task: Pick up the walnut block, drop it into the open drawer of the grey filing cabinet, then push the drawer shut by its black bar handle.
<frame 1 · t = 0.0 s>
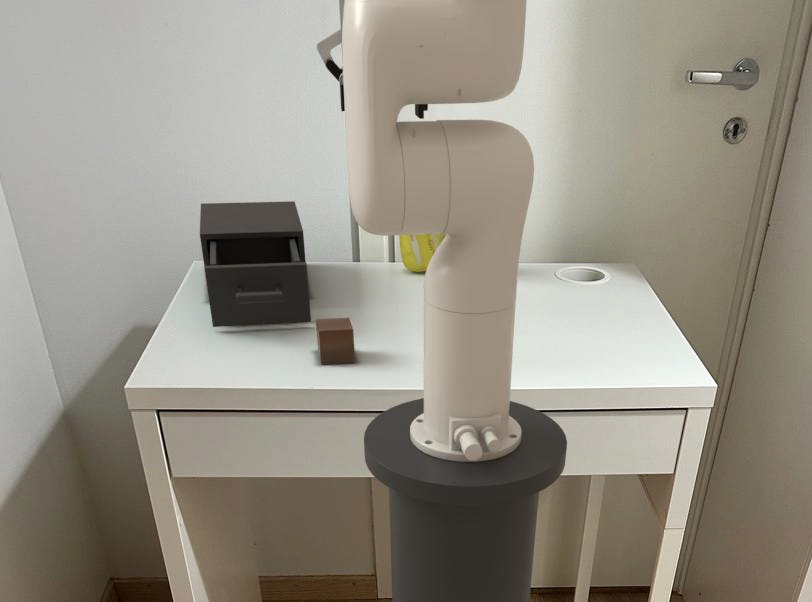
hand: (384, 117, 124), 24 cm above the table, tool pointing down, fingers open, 9 cm apart
bottle: (435, 272, 150), on the table
grey filing cabinet: (257, 281, 143), on the table
block: (336, 357, 120), on the table
drawer: (257, 282, 128), point 5 cm above the table, slide at 12.0 cm
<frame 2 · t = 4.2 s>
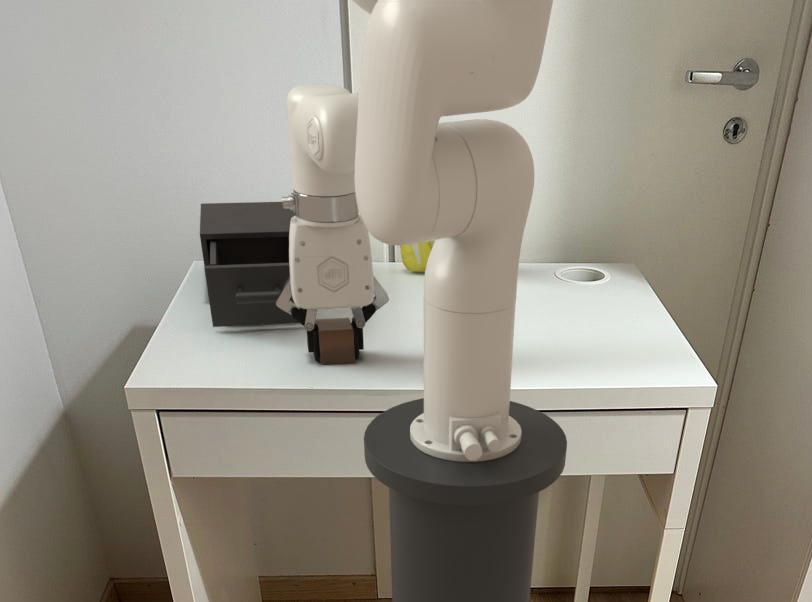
hand: (336, 354, 120), 0 cm above the table, tool pointing down, fingers closed on block, 4 cm apart
block: (336, 357, 120), on the table, touching gripper
everything else where it was.
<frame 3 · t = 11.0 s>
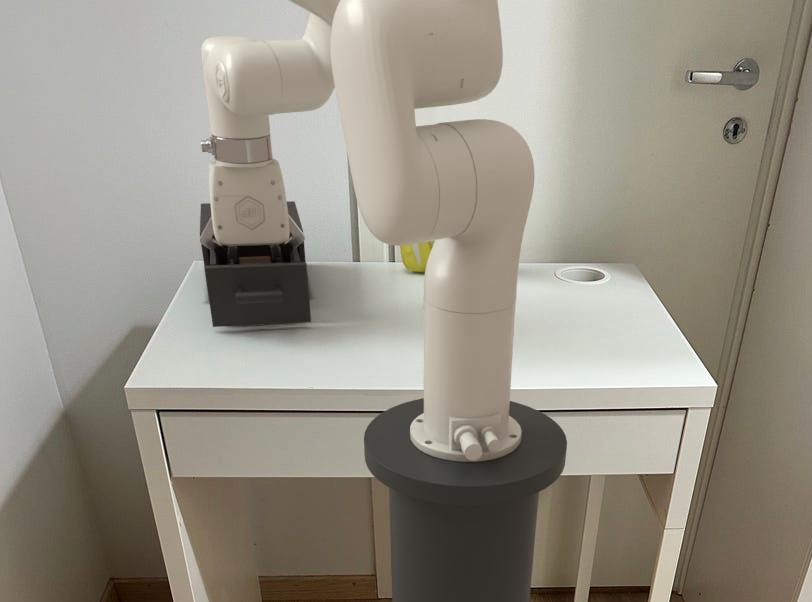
hand: (258, 290, 130), 3 cm above the table, tool pointing down, fingers closed on block, 4 cm apart
block: (258, 293, 130), point 3 cm above the table, touching gripper
drawer: (257, 282, 128), point 5 cm above the table, slide at 12.0 cm, touching gripper
everything else where it was.
when the fingers open (6 cm above the table, at t = 21.4 s): block moves 1 cm, resting on drawer.
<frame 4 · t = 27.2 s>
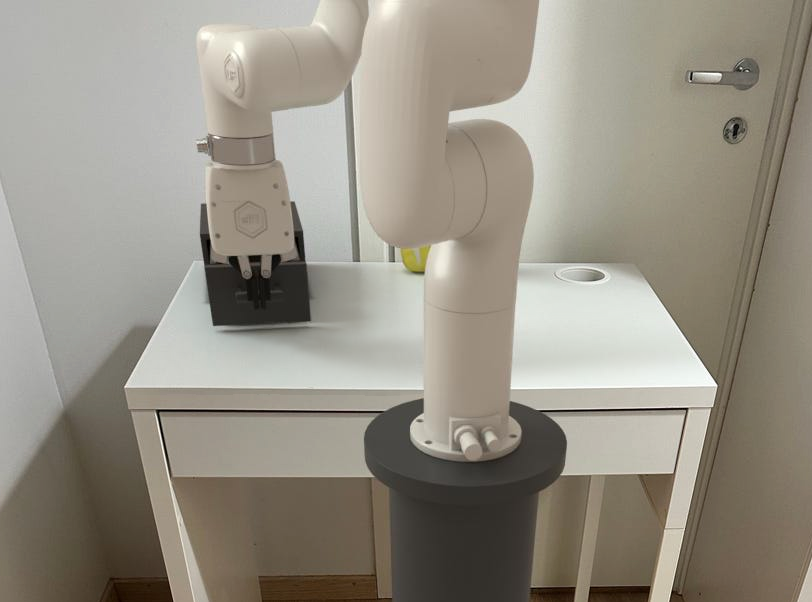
hand: (260, 306, 119), 5 cm above the table, tool pointing down, fingers closed
block: (259, 298, 131), point 2 cm above the table, touching drawer
drawer: (257, 281, 128), point 5 cm above the table, slide at 11.7 cm, touching block, gripper
everything else where it was.
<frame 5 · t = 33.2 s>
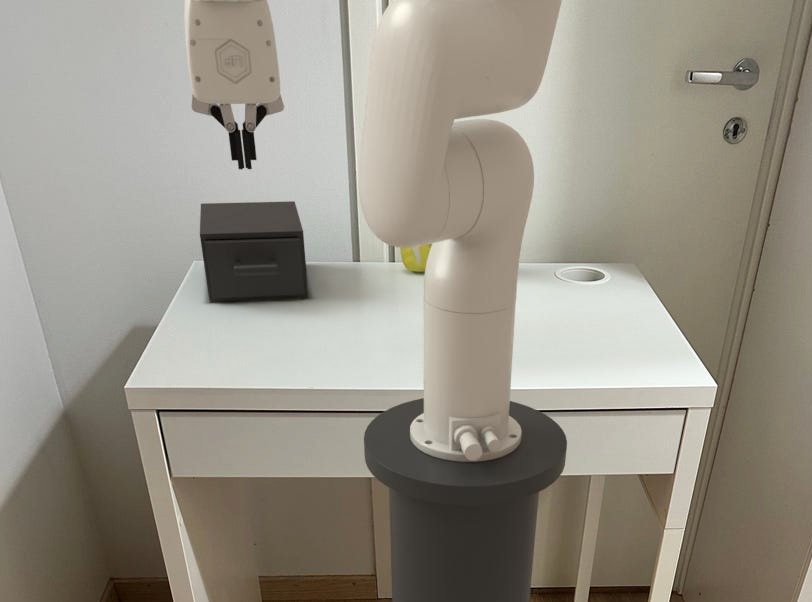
hand: (244, 166, 112), 21 cm above the table, tool pointing down, fingers closed
block: (256, 273, 140), point 2 cm above the table, touching drawer
drawer: (254, 257, 137), point 5 cm above the table, slide at 0.0 cm, touching block, grey filing cabinet
everything else where it was.
at the end: block inside the target area in the grey filing cabinet (2.5 cm from its centre), point 2.0 cm above the grey filing cabinet's base; drawer slide at 0.0 cm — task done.
